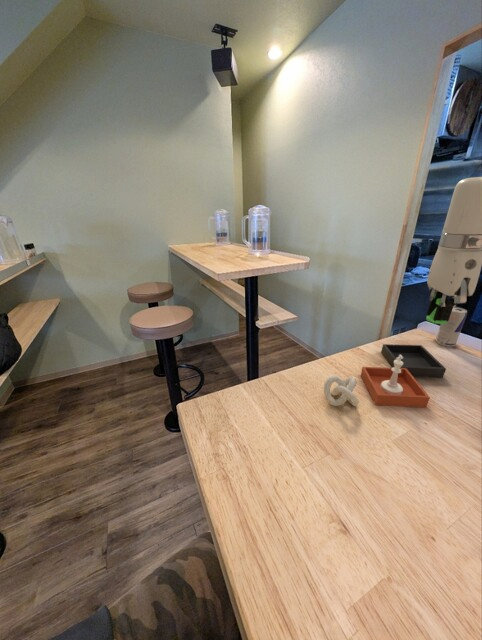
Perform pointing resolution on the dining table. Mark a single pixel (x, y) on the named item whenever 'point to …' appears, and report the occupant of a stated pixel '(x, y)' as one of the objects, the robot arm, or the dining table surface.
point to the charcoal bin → (414, 360)
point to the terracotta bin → (411, 388)
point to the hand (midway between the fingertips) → (436, 317)
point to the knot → (340, 390)
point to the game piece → (431, 316)
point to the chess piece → (393, 379)
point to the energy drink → (451, 328)
